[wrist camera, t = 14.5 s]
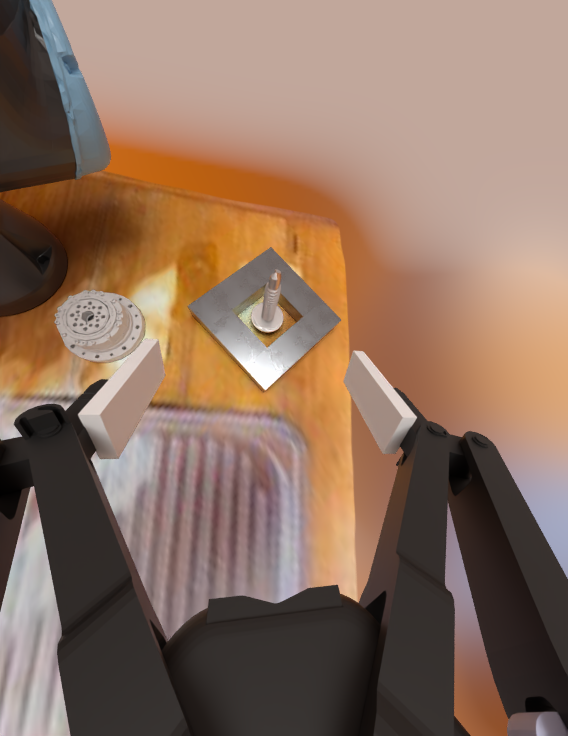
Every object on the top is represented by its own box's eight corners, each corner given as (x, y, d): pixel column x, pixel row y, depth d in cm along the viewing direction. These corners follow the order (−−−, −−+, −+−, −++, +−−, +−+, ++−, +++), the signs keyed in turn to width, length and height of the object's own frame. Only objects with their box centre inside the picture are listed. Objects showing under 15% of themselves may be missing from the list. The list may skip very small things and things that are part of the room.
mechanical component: (142, 364, 32) (149, 299, 35) (126, 355, 28) (136, 283, 30) (62, 362, 31) (75, 295, 33) (32, 353, 27) (50, 277, 29)
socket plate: (192, 315, 35) (187, 306, 32) (269, 259, 39) (270, 247, 36) (263, 392, 34) (265, 390, 31) (334, 327, 38) (341, 319, 35)
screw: (253, 338, 36) (248, 309, 37) (283, 334, 37) (278, 306, 37) (257, 295, 23) (249, 253, 24) (303, 291, 24) (294, 250, 25)
